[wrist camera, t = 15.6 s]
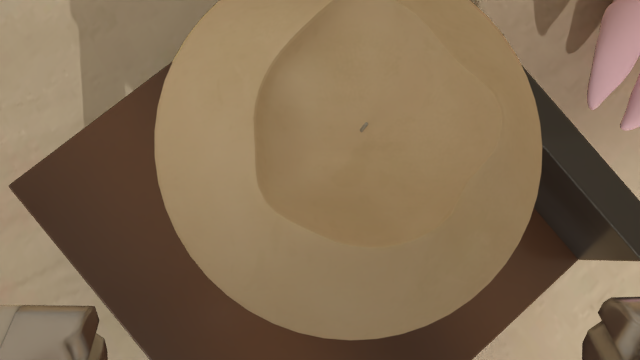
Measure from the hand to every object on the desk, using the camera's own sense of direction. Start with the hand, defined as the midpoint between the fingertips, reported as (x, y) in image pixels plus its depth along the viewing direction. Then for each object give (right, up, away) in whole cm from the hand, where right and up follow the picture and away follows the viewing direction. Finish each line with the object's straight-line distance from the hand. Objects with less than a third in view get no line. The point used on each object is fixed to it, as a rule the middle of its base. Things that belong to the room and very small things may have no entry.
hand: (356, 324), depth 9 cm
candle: (-1, +2, +7) cm, 8 cm away
